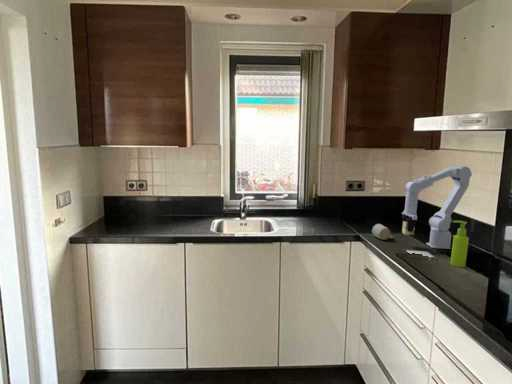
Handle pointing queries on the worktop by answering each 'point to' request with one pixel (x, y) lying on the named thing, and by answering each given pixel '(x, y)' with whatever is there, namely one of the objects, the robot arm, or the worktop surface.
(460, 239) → the soap dispenser
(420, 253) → the blue-grey mat
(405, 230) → the maple block
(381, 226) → the ceramic mug
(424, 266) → the worktop surface
